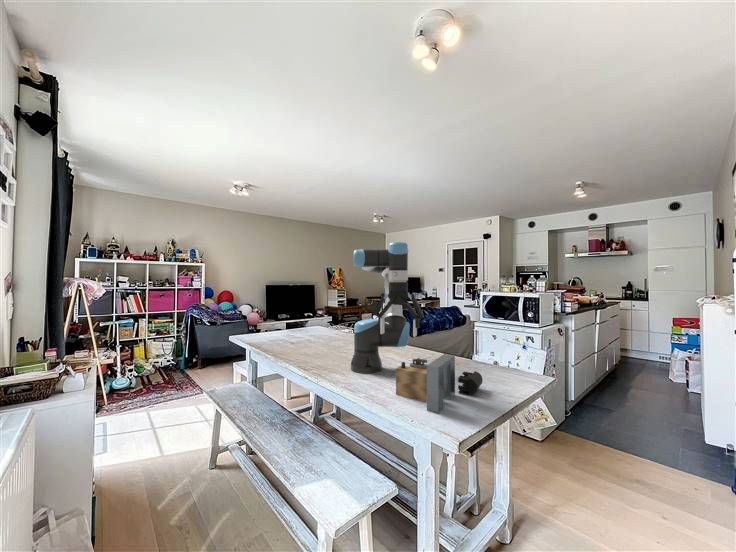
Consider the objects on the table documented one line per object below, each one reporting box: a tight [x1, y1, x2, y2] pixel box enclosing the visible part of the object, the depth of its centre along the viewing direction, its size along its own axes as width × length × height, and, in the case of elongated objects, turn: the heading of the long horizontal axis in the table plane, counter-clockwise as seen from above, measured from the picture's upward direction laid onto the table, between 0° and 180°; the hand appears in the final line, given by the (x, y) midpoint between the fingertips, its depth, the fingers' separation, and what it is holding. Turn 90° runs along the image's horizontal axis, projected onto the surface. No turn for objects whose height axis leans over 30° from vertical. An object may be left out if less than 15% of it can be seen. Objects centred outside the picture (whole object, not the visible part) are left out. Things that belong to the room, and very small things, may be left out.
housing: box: [426, 353, 456, 414], centre depth 110 cm, size 4×18×15 cm, turn 148°
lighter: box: [409, 357, 428, 370], centre depth 131 cm, size 8×3×10 cm, turn 68°
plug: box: [395, 361, 427, 403], centre depth 116 cm, size 13×4×12 cm, turn 58°
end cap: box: [457, 370, 484, 396], centre depth 120 cm, size 10×7×7 cm
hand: (398, 334), depth 123 cm, fingers open, 13 cm apart
